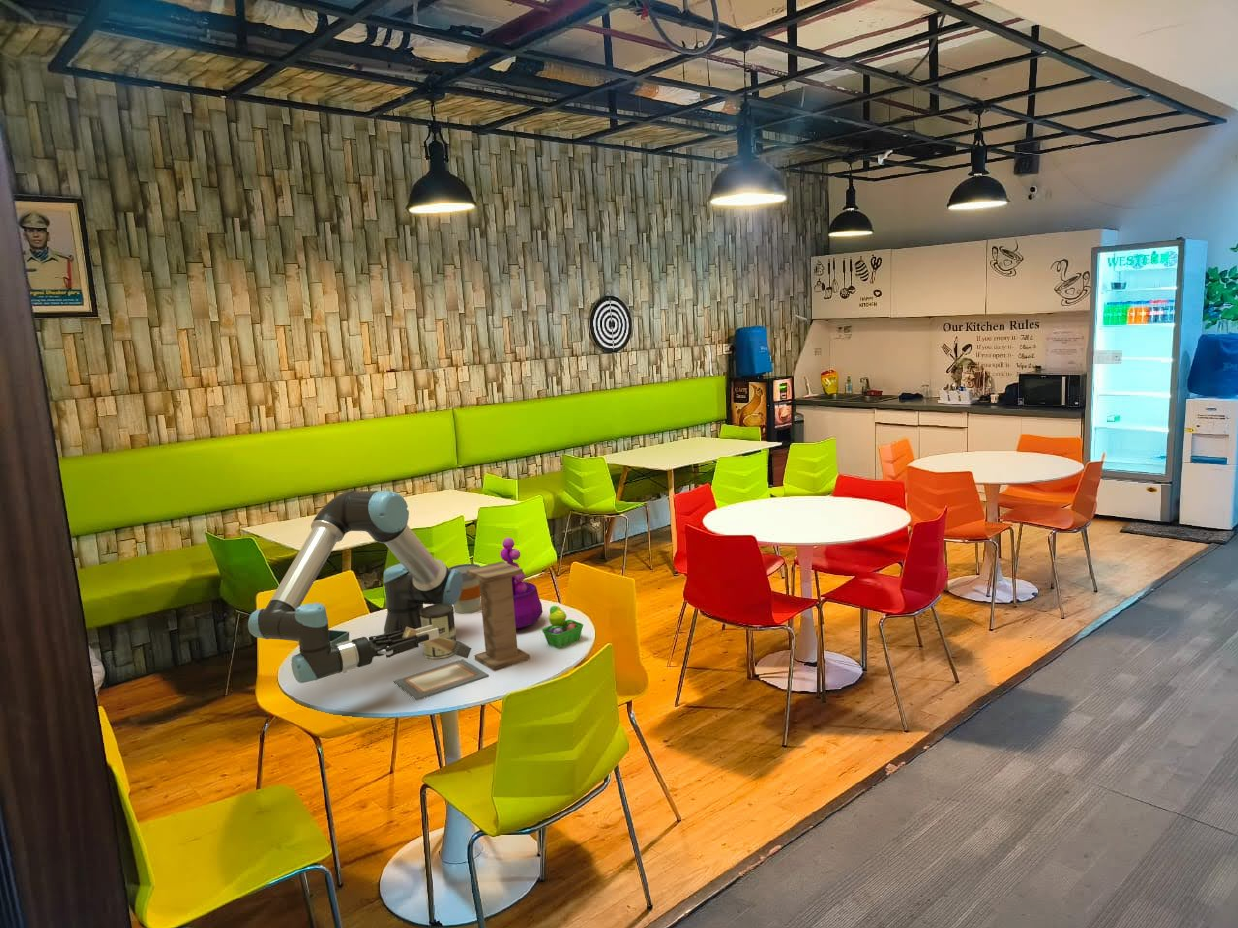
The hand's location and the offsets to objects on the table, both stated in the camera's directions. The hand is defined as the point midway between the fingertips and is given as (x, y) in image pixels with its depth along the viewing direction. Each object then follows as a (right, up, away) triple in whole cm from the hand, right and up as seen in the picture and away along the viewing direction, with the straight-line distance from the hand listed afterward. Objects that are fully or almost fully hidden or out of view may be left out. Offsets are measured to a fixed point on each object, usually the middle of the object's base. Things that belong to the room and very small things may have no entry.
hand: (435, 631), depth 238 cm
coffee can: (-3, -11, +23) cm, 26 cm away
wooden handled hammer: (-1, -4, 0) cm, 4 cm away
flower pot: (-36, -14, +20) cm, 43 cm away
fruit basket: (+34, -9, +26) cm, 44 cm away
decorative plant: (+17, -7, +44) cm, 47 cm away
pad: (+1, -14, +3) cm, 15 cm away
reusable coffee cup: (-2, -5, +62) cm, 63 cm away
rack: (+17, -11, +15) cm, 25 cm away
